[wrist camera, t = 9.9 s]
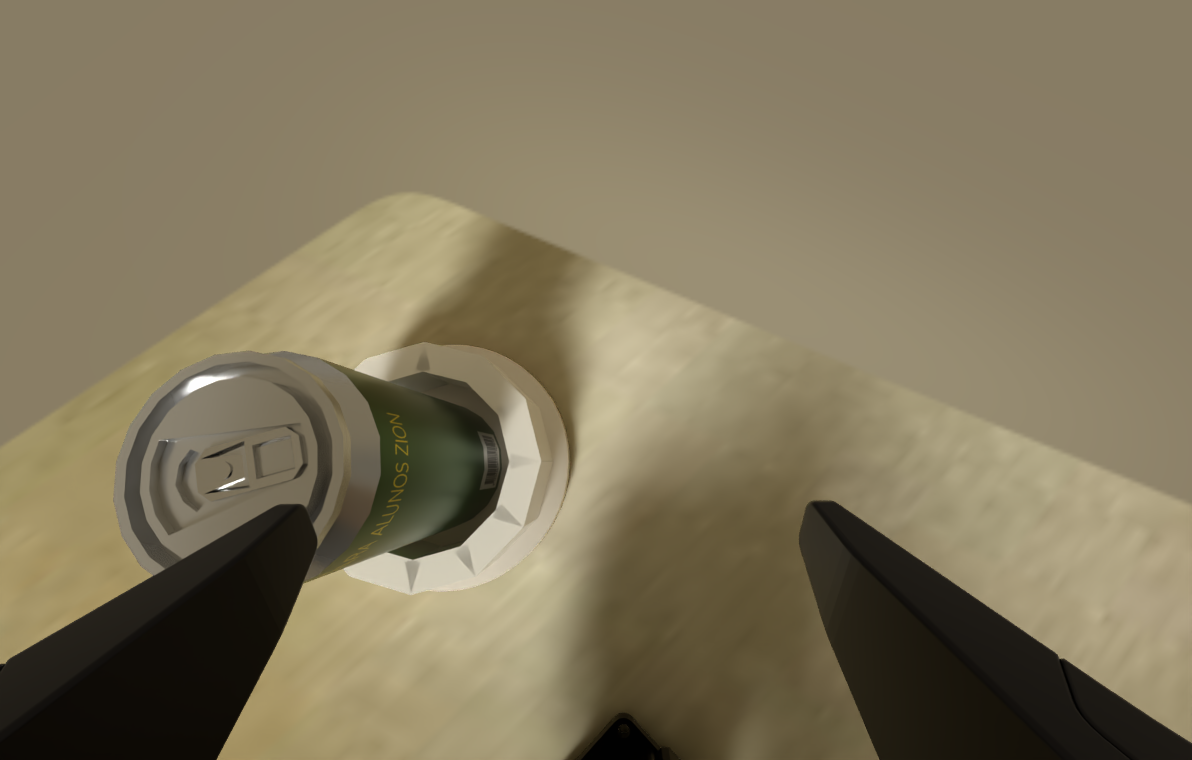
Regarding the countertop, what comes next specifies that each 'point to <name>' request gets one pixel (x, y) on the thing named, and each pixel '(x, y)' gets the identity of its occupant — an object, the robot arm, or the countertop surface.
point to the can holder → (525, 480)
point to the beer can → (298, 459)
